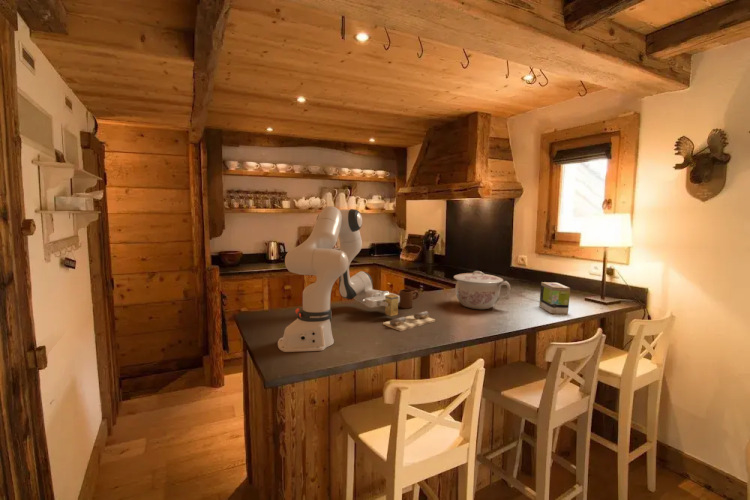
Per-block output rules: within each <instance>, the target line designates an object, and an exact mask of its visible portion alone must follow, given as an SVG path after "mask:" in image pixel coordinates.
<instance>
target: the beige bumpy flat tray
mask: <svg viewBox="0 0 750 500" xmlns="http://www.w3.org/2000/svg"><path fill="white" fill-rule="evenodd" d="M429 316H430V314H429V312H428V311H427V310H425V311H421V312H417V313H414V314H410V315H407V316H401V317H396V318H393V319H390V320H388V321H385V322H384V321H383V322H382V325H383V326H386V327H388V328H391V329H394V330H397V331H399V332H403V331H407V330H410V329H414V328H417V327H420V326H424V325H427V324H430V323H434V322H436V319H435V318H433V317H429Z"/></svg>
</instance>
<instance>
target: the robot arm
mask: <svg viewBox="0 0 750 500" xmlns="http://www.w3.org/2000/svg"><path fill="white" fill-rule="evenodd" d="M362 227H363V216H362V214H361V212H360V211H359V209H356V208H354V209H353V208H350V209H339V208H337V207H336V206H332V205H327V206H326V207H324V208H323V209H321V211H320V213H318V215H317V217H316V221H315V223H314V226H313V229H312V232H311V233H310V235H309V236H308V237H307V238H306V240H304V241H303V242H302V243H300V244H299V245H297V246H296V247H293V248H291V249H289V250H288V251H287V253H286V254H285V256H284V257H285V258H284V265H285V267H286V269H287V270H288V272H290V273H293V274H297V275H300V276H302V275H303V276H315V277H316V281H315V282H313V283H311V284H309V285H307V286H306V287H304V289H303V291H302V308H301V309H300V308H296V309H295V314H296V315H297V318H296V319H295V320H294V321H292V322H291V323H290V324H288V325H287V326H286V327H285V329H284V331H283V332H284V333H283V337H280V338H279V339H278V341H277V348H278V349H279V350H280V351H281V352H284V353H292V352H293V353H295V352H317V351H318V352H319V351H324V350H325V349H326V348H328V347H330V346H332V345H333V344H334V342H335V339H334V337H333V332H332V324H331V323H332V319H333V318H332V315H333V314H332V308H331V297H332V295H331V294H332V289H333V286H334V284H335V283H336V282H337V280H338V279H339V280H338V281H339V283H338V291H339V294H340V296H341V297H342V298H343V299H346V300H353V299H354V300H355V301H356V302H358V303H361V304H363V305H364V306H365V307H367V308H371V309H374V308H379V307H385V306H389V304H390V303H389V302H385V296H386V295H391V294H393V295H396V296H398V304H399V302H400V296H399V294H396V293H393V292H390V291H389V290H378V289H374V285H373V283H374V282H373V278H372V276H371V274H369V273H368V272H367V271H363V270H360V271H359V272H356V273H355V274H353V275H352V276H350V265H351V262H352V261H353V260H354V259H355V258H356V256H357V255H358V254H359V253H360V251H361V250H362V248H363V241H362V240H363V239H362V235H361V232H360V229H361V228H362ZM338 241H339V249H336V248H335V246H336V244H337V242H338Z"/></svg>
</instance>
